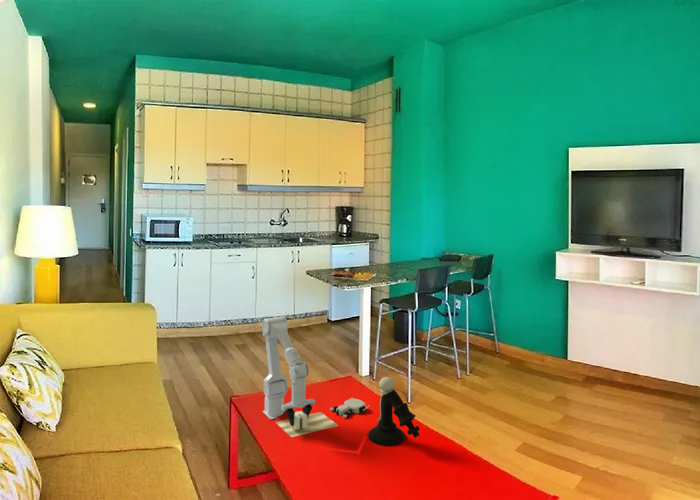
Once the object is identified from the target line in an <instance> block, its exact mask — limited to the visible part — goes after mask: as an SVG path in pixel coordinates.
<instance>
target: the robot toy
mask: <svg viewBox="0 0 700 500" xmlns="http://www.w3.org/2000/svg"><path fill="white" fill-rule="evenodd" d="M370 406H371V405H368V406H367V403H365V402H364V401H363V400H361V399H358V398H353V396H351V398H349V399H347V400H345V401H344V403H343V404H341V405H339V406H338V405H335V406H333V407H330V408H329V410H330V411H331V412H333V411H334V412H335V414H336V416H342V418H348V417H349V416H350V414H351V413H352V414H361V413H363V412H365V411H366V410H367V409H368V408H369V407H370Z"/></svg>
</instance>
